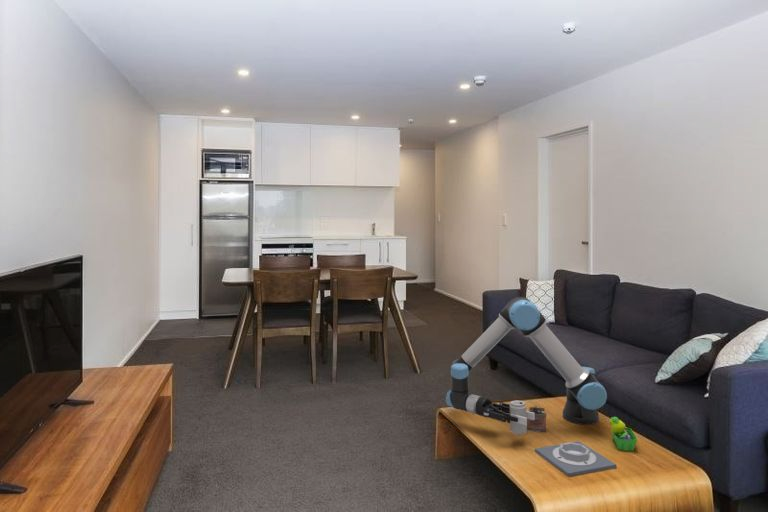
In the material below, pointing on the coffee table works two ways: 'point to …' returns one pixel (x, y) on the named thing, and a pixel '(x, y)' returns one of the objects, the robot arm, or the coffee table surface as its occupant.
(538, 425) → the brown piece
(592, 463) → the board
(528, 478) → the coffee table surface
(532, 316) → the robot arm
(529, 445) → the coffee table surface
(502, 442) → the coffee table surface
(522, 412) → the beverage can
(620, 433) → the fruit basket
